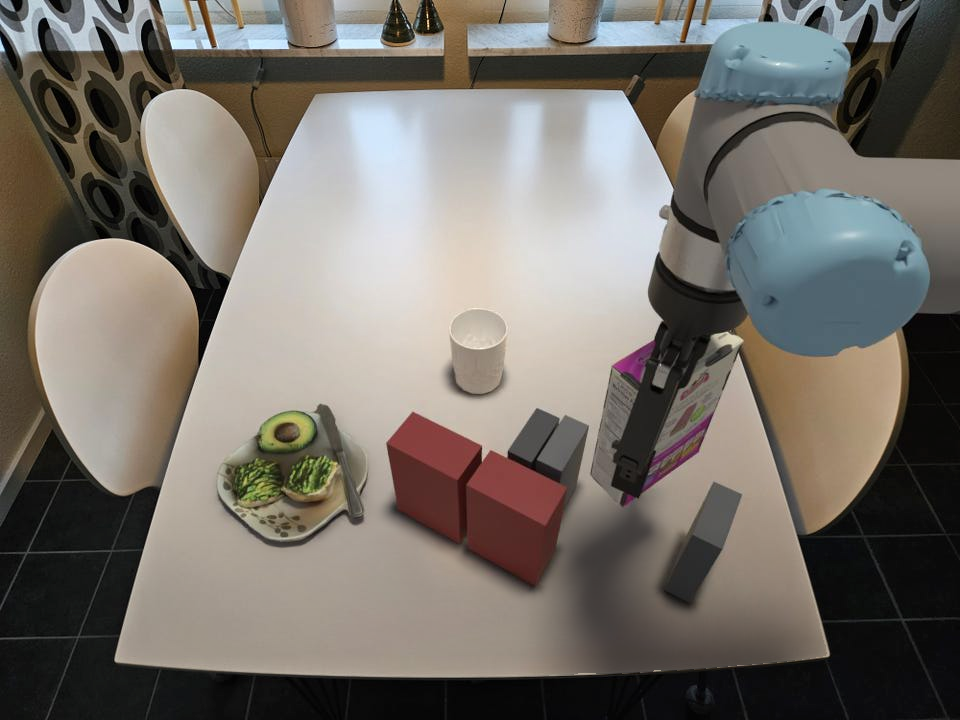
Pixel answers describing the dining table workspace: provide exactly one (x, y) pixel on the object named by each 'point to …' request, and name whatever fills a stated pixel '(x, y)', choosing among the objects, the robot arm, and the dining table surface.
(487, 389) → the white cup
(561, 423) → the grey boxes
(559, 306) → the dining table surface
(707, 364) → the candy bar box
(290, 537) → the avocado toast plate
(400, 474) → the maroon boxes
